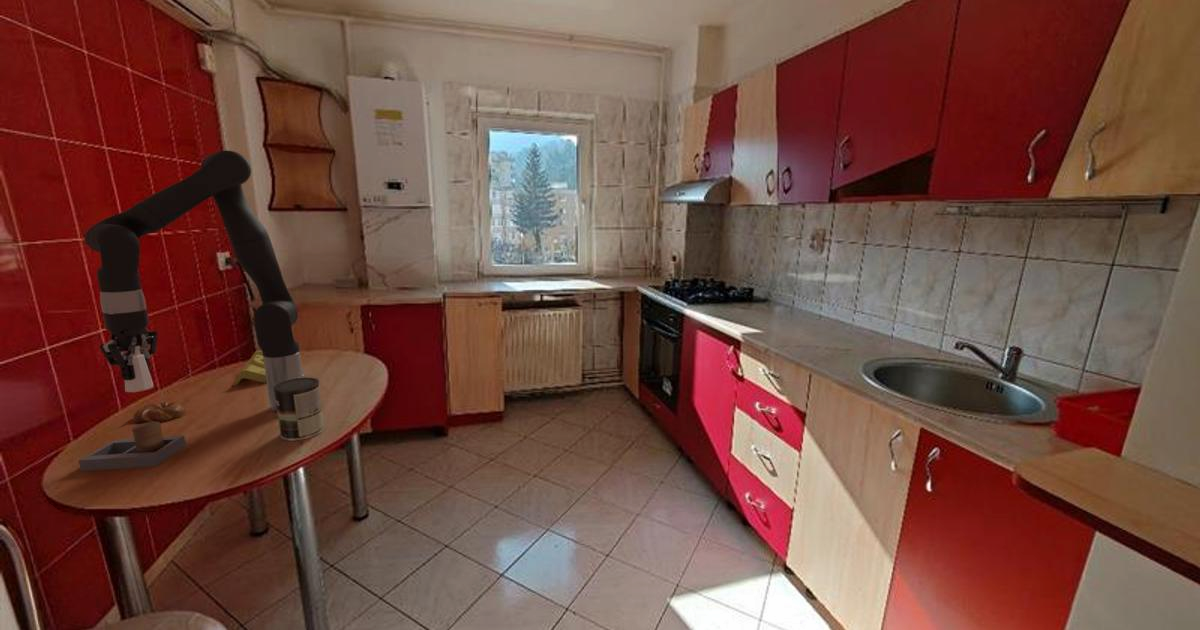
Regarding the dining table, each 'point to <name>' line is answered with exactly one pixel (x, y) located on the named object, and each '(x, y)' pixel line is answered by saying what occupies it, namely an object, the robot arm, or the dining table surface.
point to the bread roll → (159, 412)
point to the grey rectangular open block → (129, 455)
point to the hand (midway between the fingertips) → (137, 376)
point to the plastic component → (253, 369)
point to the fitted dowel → (148, 437)
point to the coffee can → (299, 408)
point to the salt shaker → (139, 374)
